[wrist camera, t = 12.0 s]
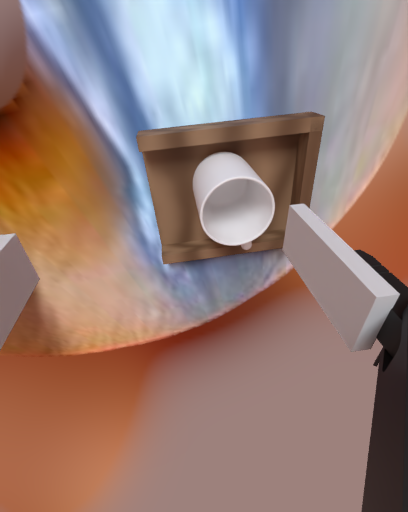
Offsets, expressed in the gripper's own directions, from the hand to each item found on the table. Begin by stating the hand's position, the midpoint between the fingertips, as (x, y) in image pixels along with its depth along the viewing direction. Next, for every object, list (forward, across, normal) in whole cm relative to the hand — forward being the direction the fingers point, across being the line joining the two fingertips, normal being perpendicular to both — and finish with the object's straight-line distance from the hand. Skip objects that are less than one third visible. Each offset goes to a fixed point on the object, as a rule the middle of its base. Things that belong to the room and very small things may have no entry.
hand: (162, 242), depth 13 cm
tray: (+25, +9, -8) cm, 27 cm away
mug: (+24, +8, -8) cm, 27 cm away
